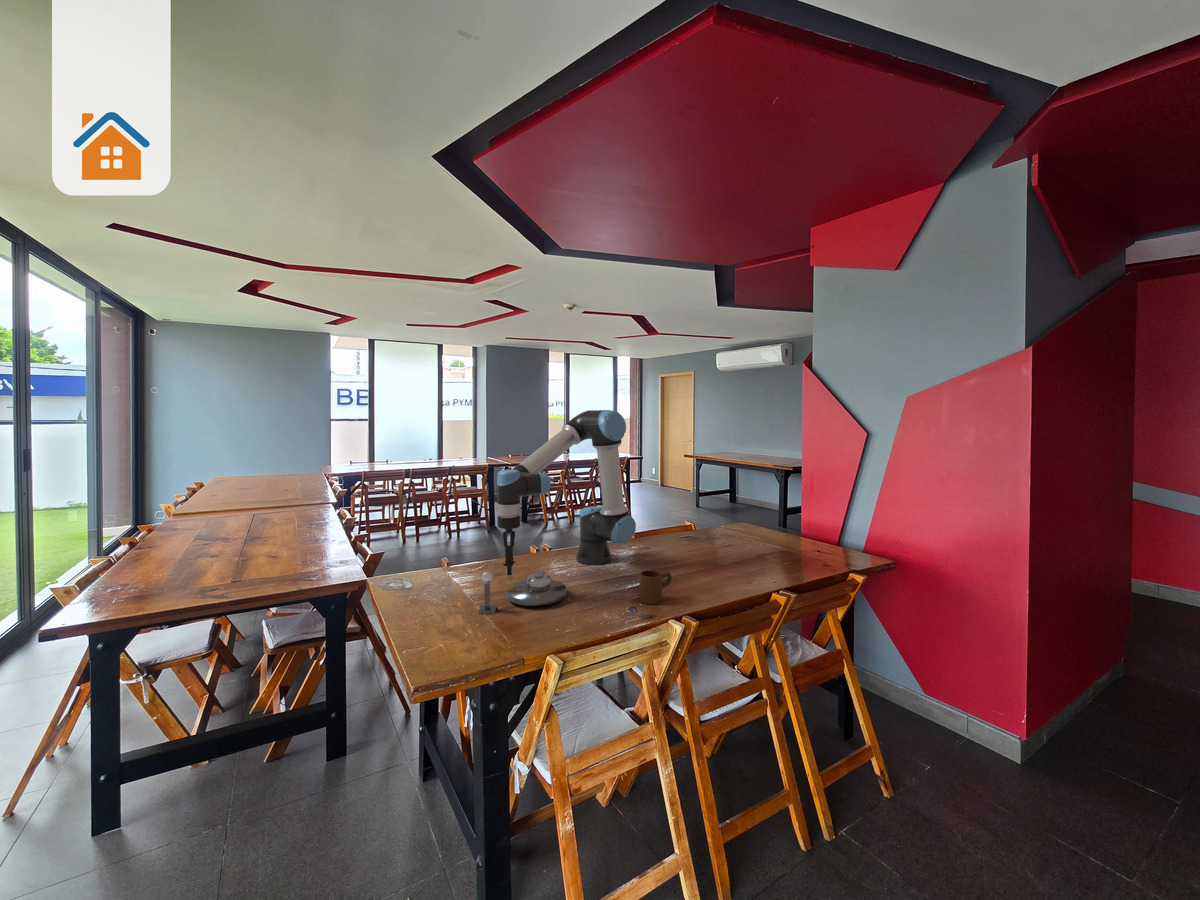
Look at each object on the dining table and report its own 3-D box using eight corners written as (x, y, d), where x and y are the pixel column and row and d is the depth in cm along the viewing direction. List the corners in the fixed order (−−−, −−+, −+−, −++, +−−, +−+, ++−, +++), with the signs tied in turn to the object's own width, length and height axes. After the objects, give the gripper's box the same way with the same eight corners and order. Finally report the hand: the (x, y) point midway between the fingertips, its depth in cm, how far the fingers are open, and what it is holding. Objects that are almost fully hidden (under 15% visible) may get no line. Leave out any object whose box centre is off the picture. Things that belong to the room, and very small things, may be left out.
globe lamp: (480, 607, 159) (479, 569, 158) (495, 606, 160) (495, 568, 159) (479, 614, 155) (478, 574, 154) (495, 613, 155) (494, 573, 154)
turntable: (507, 585, 176) (506, 569, 176) (563, 582, 179) (563, 566, 179) (505, 607, 156) (505, 589, 156) (568, 603, 160) (568, 585, 159)
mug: (665, 593, 173) (665, 567, 172) (677, 600, 166) (677, 573, 165) (635, 598, 168) (635, 571, 167) (646, 606, 161) (646, 578, 160)
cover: (527, 584, 171) (527, 569, 171) (550, 583, 173) (550, 568, 172) (527, 593, 164) (527, 577, 163) (551, 591, 165) (551, 576, 164)
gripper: (498, 512, 172) (499, 577, 174) (496, 520, 160) (497, 590, 161) (520, 511, 174) (520, 576, 175) (520, 519, 161) (520, 589, 163)
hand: (509, 583), depth 168 cm, fingers closed
